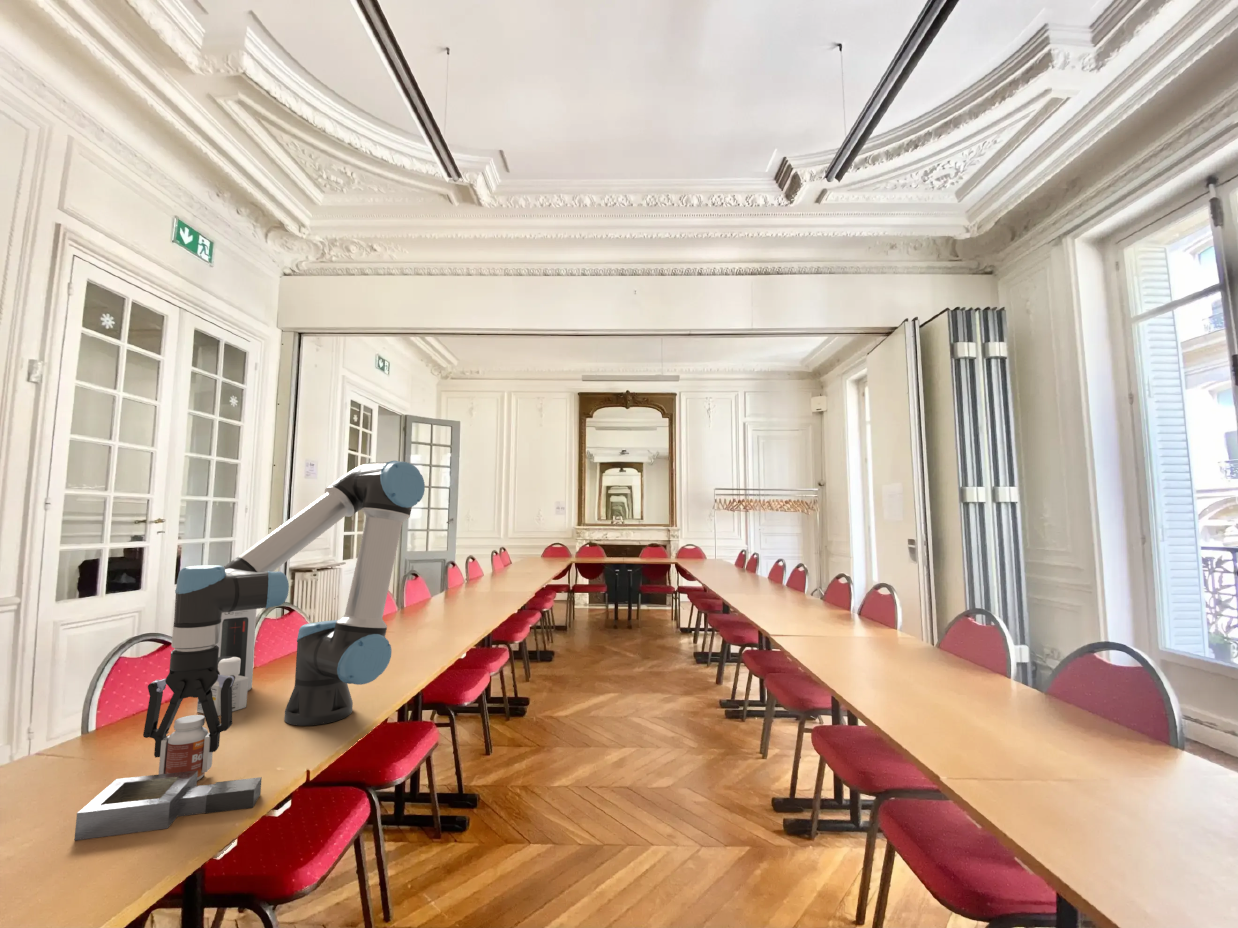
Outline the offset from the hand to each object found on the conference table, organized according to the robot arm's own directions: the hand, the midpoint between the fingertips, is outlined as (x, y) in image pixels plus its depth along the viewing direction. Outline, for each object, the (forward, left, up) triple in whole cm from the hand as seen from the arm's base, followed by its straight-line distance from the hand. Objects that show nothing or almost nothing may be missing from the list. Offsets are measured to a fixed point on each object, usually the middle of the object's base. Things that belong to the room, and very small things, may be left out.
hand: (185, 771), depth 109 cm
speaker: (+9, -59, -2) cm, 60 cm away
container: (+6, -42, -2) cm, 42 cm away
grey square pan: (-3, +13, -1) cm, 14 cm away
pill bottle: (0, 0, -2) cm, 2 cm away
